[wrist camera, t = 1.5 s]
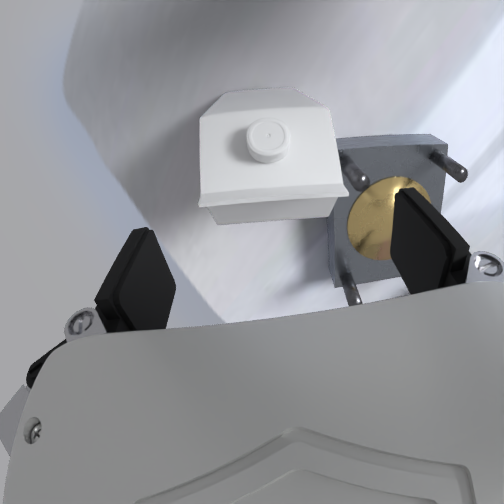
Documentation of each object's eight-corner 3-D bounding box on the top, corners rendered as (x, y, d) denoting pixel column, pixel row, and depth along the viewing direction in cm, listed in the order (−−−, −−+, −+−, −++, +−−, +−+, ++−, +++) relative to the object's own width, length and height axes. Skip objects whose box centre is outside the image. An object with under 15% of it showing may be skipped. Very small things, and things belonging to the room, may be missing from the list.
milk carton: (297, 150, 31) (343, 255, 15) (232, 155, 31) (210, 265, 16) (293, 86, 26) (351, 120, 11) (224, 92, 27) (183, 132, 12)
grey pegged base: (321, 140, 30) (344, 168, 23) (430, 134, 28) (474, 160, 21) (328, 268, 40) (343, 316, 33) (417, 253, 39) (443, 295, 32)
